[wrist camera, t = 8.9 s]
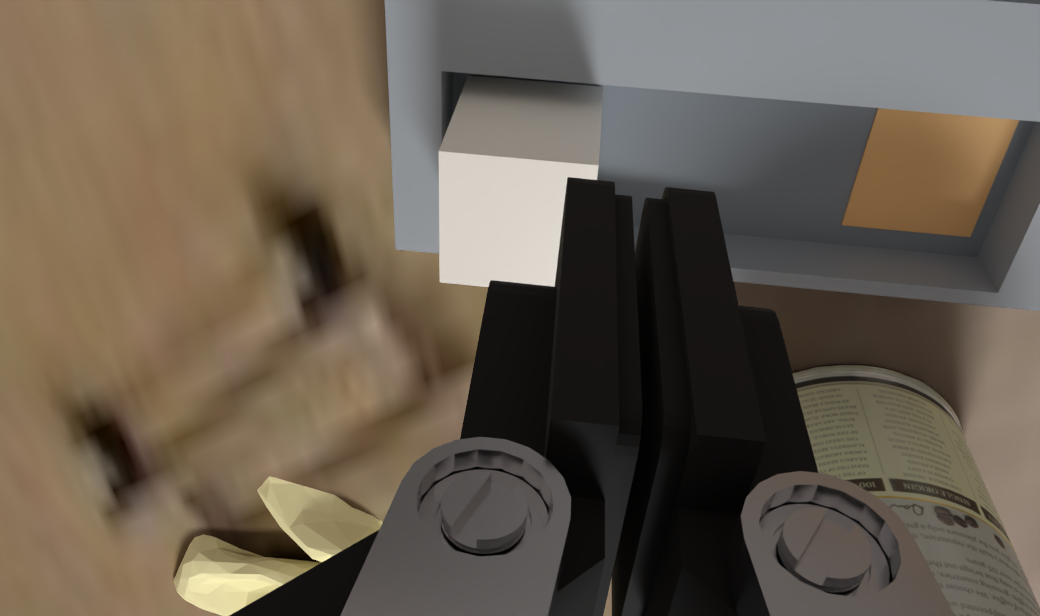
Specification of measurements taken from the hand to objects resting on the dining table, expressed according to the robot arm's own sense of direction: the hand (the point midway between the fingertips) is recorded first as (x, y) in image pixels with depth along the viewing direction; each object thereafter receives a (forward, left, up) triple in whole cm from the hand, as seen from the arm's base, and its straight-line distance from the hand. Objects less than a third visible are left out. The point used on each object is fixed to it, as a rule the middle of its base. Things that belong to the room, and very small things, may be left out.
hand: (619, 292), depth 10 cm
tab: (+2, +6, -16) cm, 17 cm away
